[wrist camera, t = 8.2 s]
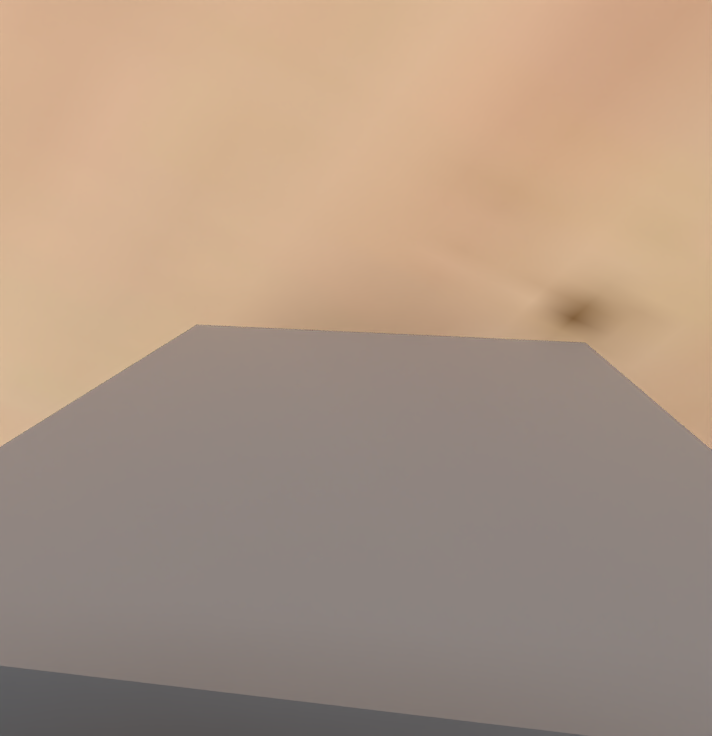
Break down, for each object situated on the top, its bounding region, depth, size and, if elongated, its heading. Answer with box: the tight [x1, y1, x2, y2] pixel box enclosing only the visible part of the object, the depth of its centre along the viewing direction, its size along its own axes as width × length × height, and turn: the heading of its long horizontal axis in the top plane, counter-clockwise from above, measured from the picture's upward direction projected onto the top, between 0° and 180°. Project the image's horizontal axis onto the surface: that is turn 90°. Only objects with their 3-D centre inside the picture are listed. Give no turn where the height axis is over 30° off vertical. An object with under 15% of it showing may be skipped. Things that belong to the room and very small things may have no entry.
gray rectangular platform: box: [0, 325, 712, 736], centre depth 7 cm, size 8×8×7 cm
